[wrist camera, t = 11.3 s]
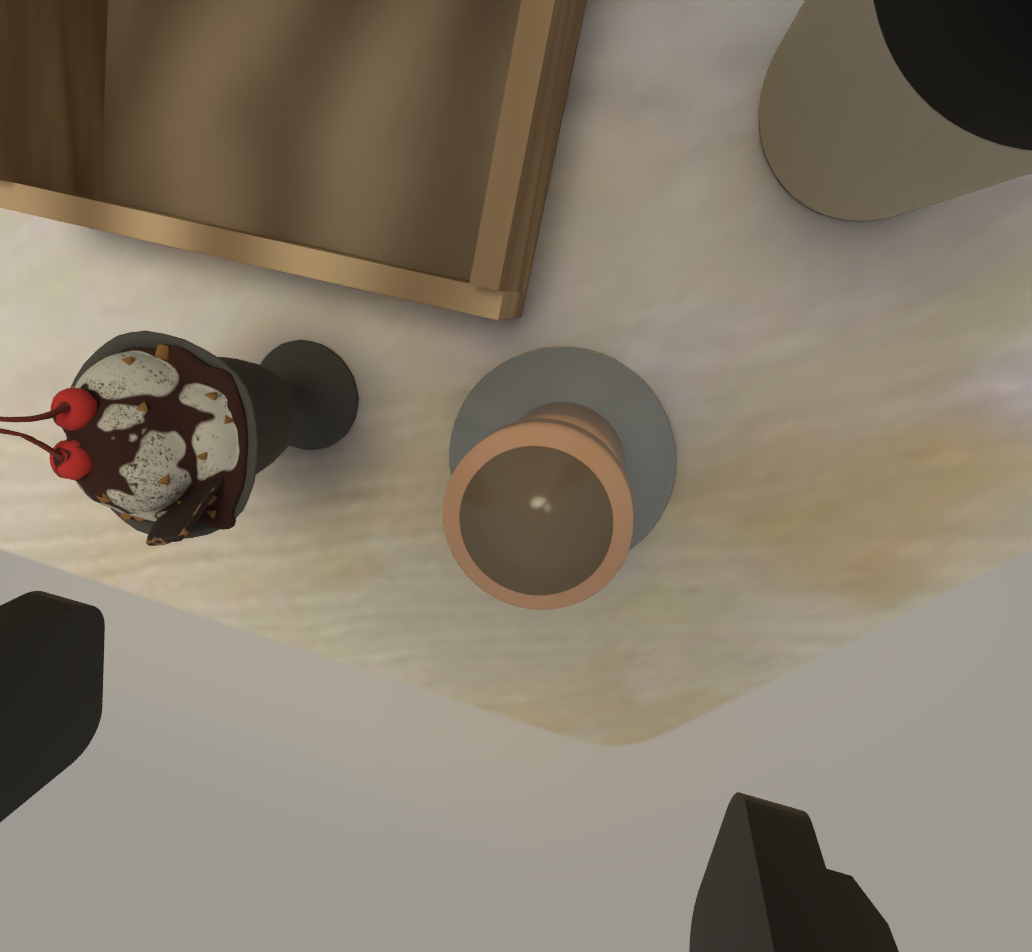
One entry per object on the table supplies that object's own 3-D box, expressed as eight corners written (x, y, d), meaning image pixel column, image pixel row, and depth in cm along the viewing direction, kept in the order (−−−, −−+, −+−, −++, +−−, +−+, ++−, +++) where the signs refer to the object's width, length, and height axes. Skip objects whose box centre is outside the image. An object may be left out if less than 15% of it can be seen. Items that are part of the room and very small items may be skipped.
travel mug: (771, 243, 27) (1006, 146, 10) (744, 16, 25) (972, -590, 8) (1001, 193, 25) (1779, -28, 8) (989, -54, 24) (1941, -1004, 6)
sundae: (242, 306, 31) (-97, 314, 17) (385, 338, 30) (159, 374, 16) (231, 448, 33) (-85, 565, 19) (365, 481, 32) (146, 628, 18)
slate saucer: (702, 375, 28) (704, 377, 28) (642, 586, 31) (642, 594, 30) (476, 324, 30) (472, 324, 29) (436, 532, 32) (431, 538, 31)
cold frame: (601, -72, 25) (585, -233, 18) (521, 316, 29) (479, 323, 21) (102, -153, 27) (-105, -327, 20) (89, 219, 31) (-89, 194, 24)
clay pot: (650, 411, 28) (655, 454, 20) (614, 545, 30) (606, 634, 22) (508, 377, 29) (460, 407, 21) (480, 511, 31) (426, 585, 23)
